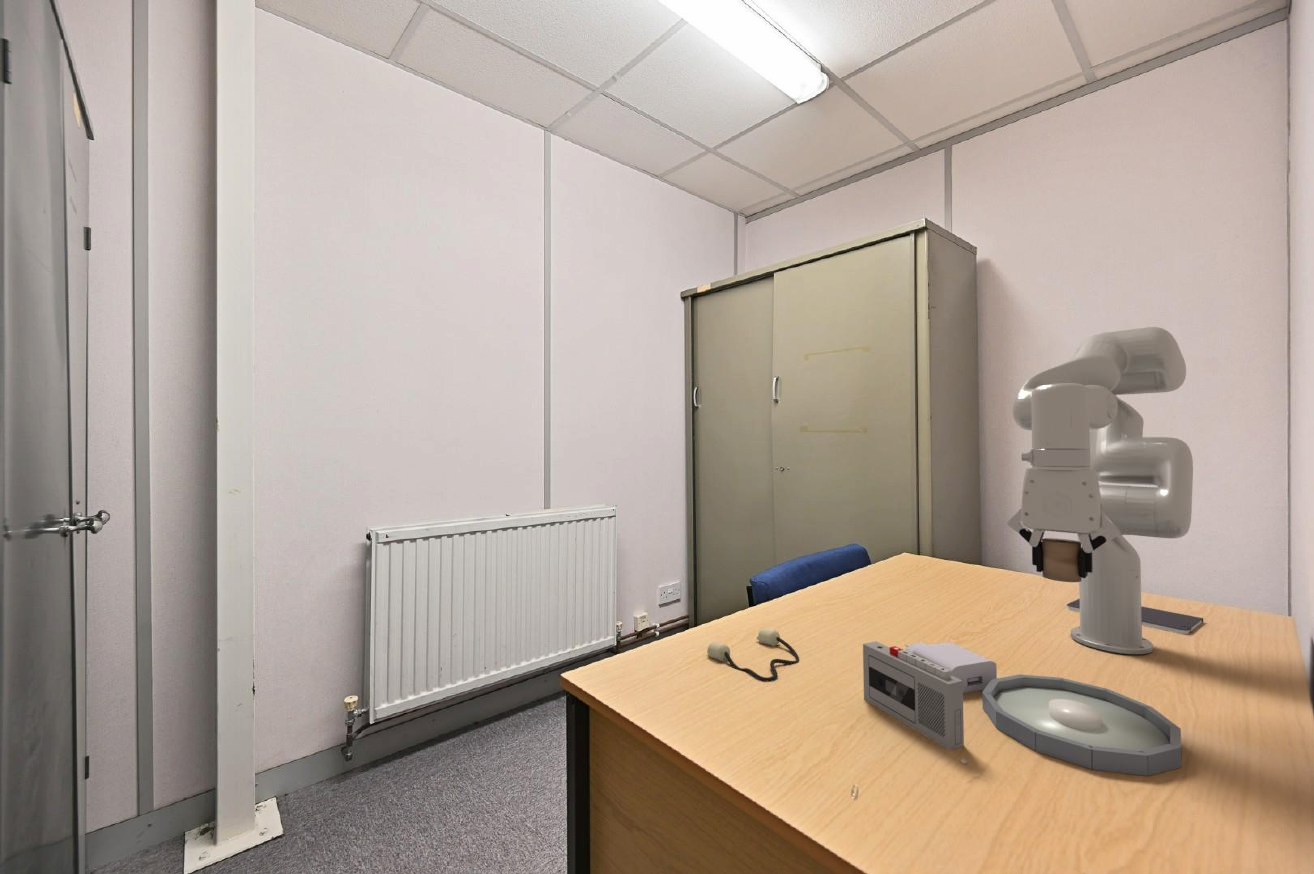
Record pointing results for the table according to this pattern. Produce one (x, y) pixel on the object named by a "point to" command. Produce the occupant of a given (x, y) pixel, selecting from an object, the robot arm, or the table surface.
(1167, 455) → the robot arm
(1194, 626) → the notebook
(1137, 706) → the tray
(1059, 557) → the bead
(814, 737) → the table surface
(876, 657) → the cassette player
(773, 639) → the cable
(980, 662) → the charger
